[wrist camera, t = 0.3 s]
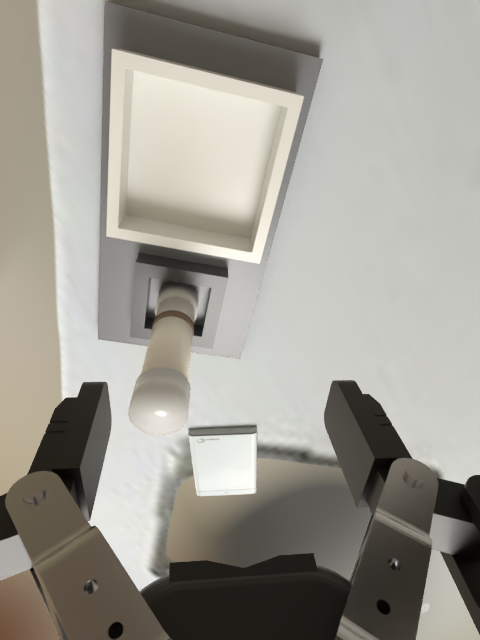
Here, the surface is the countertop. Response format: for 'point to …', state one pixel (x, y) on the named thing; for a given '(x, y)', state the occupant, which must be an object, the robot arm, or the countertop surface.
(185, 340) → the white capped peg
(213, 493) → the hard drive
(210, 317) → the grey board with tray
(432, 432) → the countertop surface
